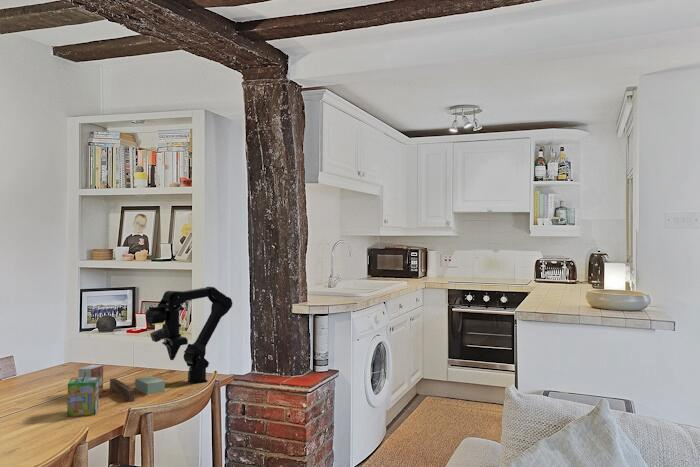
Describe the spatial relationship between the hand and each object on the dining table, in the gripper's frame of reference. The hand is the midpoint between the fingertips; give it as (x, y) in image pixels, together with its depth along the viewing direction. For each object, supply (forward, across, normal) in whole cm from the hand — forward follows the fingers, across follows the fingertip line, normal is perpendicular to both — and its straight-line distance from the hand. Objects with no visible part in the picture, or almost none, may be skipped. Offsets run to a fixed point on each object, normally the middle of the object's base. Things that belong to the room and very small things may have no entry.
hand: (171, 359), depth 241 cm
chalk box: (+11, +16, -38) cm, 43 cm away
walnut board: (+11, 0, -20) cm, 23 cm away
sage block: (+11, 0, -9) cm, 14 cm away
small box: (+11, -9, -29) cm, 32 cm away
